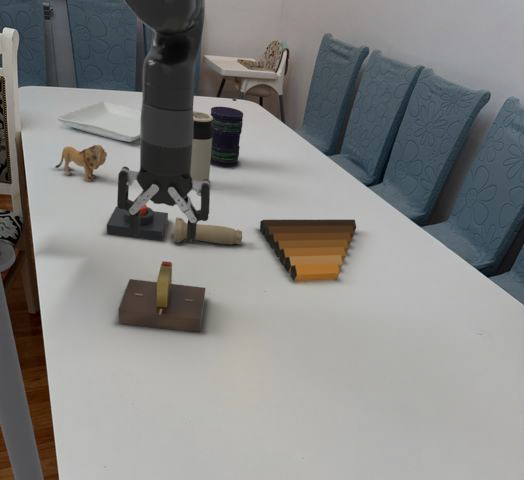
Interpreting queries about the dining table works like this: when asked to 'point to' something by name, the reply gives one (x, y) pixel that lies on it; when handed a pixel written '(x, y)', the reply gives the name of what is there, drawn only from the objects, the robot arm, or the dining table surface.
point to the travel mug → (201, 146)
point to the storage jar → (225, 136)
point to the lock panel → (173, 317)
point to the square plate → (106, 121)
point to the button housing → (149, 224)
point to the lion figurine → (84, 159)
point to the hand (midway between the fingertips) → (163, 237)
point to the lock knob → (164, 284)
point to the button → (143, 210)
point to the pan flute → (310, 246)
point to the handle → (208, 233)
